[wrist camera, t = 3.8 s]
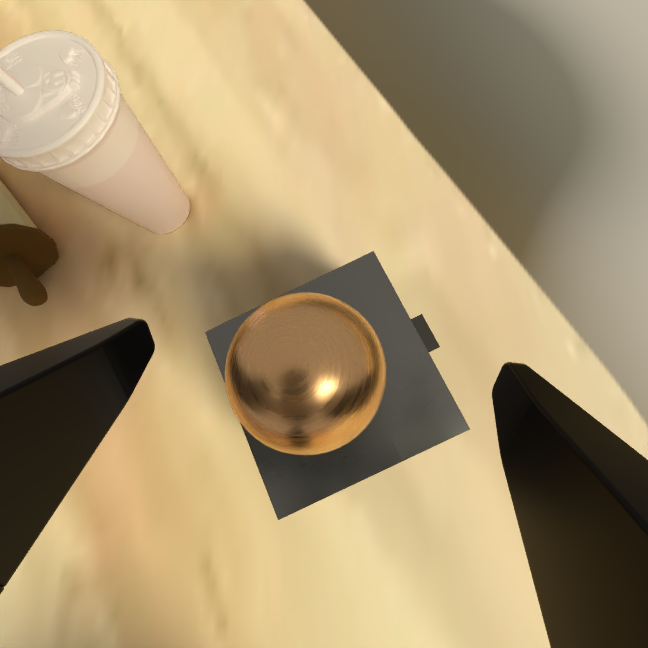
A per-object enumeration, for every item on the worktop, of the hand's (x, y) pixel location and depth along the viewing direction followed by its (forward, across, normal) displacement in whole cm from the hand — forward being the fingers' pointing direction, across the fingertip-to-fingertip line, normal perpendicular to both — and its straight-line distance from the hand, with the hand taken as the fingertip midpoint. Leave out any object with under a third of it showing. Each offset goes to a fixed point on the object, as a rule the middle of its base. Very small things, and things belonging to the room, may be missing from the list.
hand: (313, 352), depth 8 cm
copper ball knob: (+4, 0, +5) cm, 7 cm away
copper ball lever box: (+8, 0, +9) cm, 12 cm away
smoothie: (+16, +14, +2) cm, 21 cm away
